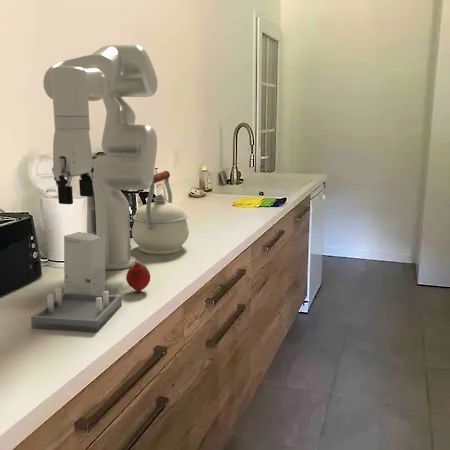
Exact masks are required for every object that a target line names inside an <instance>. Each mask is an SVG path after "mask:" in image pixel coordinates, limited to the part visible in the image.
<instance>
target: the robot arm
mask: <svg viewBox="0 0 450 450" xmlns="http://www.w3.org/2000/svg"><path fill="white" fill-rule="evenodd" d="M42 83H43V90H44V91H45V94H46V96H48V97H49V98H50V99H51V100H52V105H53V106H52V108H53V120H54V121H53V122H54V133H53V142H52V143H53V144H52V145H53V146H52V165H53V167H51V168H52V169H51V173H52V174H53V179H54V181H55V182H56V183H55V185H56V187H57V197H58V204H59V205H60V204H61V205H72V204H74V199H73V194H74V193H73V186H72V185H71V183H72V180H73V177H79V178H80V179H78V182H79V195H80V197H87V198H88V197H91V198H92V197H93V196H94V207H95V208H94V209H95V210H94V211H95V226H96V227H95V229H96V231H95V232H96V234H95V235H100V236H105V271H106V270H109V271H110V270H111V271H112V270H122V269H123V270H124V269H128V268H131V267H132V266H133V265H135V261H136V260H137V259H136V257H134V256H132V253H131V249H132V245H131V228H130V227H131V225H130V223H131V217H130V204H129V201H128V199H127V197H126V196H125V194H124V193H123V192H122V191H124V190H125V191H126V190H130V191H135V190H136V191H141V190H147V189H150V186H151V184H152V181H153V175H155V174H154V173H155V169H156V168H155V166H156V160H157V159H156V158H157V150H158V138H157V137H158V136H157V132H156V130H155V129H154V128H153V127H152V126H150V125H149V124H136V114H135V112H134V109H133V108H132V107H131V106H130V105H129V103H128V102H126V101H125V100H124V98H148V97H149V98H150V97H152V96H154V95H155V94H156V92H157V90H158V83H159V82H158V76H157V74H156V71H155V68H154V66H153V64H152V60H151V58H150V55H149V54H148V52H147V50H145V49H144V48H143V47H142V46H140V45H139V44H138V45H137V44H135V45H133V44H132V45H131V44H112V45H111V44H109V45H104V46H102V47H100V48H99V49H98V50H96V51H94V52H93V53H91V54H87V55H84V56H83V55H82V56H79V57H75V58H70V59H66V60H62V61H59V62H57V63H54V64H53V65H52V66H50V67H49V68H48V69H47V70H46V72H45V73H44V77H43V80H42ZM101 100H102V102H103V105H104V107H105V111H106V117H105V122H104V128H103V132H102V139H101V149H102V152H103V153H104V154H105V155H100V156H98V157H95V158H94V157H93V155H92V154H93V153H92V146H91V145H92V144H91V139H90V131H91V129H90V128H91V125H90V111H89V110H90V109H89V108H90V107H89V102H95V101H96V102H97V101H101ZM121 190H122V191H121Z"/></svg>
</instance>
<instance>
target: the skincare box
mask: <svg viewBox="0 0 450 450" xmlns="http://www.w3.org/2000/svg"><path fill="white" fill-rule="evenodd" d="M63 255H64V256H63V257H64V258H63V262H64V263H63V266H64V267H63V272H64V273H63V274H64V275H63V276H64V279H63V281H64V282H63V283H64V284H63V285H64V287H63V288H64V290H63V293H80V294H98V295H103V291H106V269H105V236H100V235H97V234H94V233H88V232H87V233H86V232H82V231H81V232H80V231H78V232H73V233H70V234H66V235H63Z"/></svg>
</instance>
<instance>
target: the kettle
mask: <svg viewBox="0 0 450 450" xmlns="http://www.w3.org/2000/svg"><path fill="white" fill-rule="evenodd" d="M170 176H171V174H170V171H168V170H163V171H162V172H158V173H155V174H154V175H153V181H152V184H151V186H150V187H149V191H148V195H147V200H146V204H143V205H142V206H140V207H139V208H138V209H137V210H136V212H135V214H134V215H132V219H133V225H132V230H131V236H132V239H133V241H134V242H135V244H137V246H138V250H139V251H140V252H142V253H144V254H148V255H169V254H175V253H177V252H179V251H182V249H183V245H184V243H186V241H187V239H188V238H189V231H190V230H189V225H188V223H187V219H188V218H189V217H188V214H186V213H185V211H184V210H183V208H182V207H181V206H180V205H177V204H175V203H173V193H172V190H171V185H170V179H169V178H170ZM162 181H164V185H165V188H166V192H167V199H166V197H165V196H164V195H162V194H158V195H156V196H155V197H154V199H153V196H154V192H155V184H156V183H160V182H162ZM152 201H154V202H152ZM166 201H167V202H166Z"/></svg>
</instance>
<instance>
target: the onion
mask: <svg viewBox="0 0 450 450" xmlns="http://www.w3.org/2000/svg"><path fill="white" fill-rule="evenodd" d="M125 279H126V283H127V284H128V286H129V287H131V289H133V290H134V291H135V292H137V293H140V292H141V291H143V290H144V289H146V288H147V287H148V286H149V283H150V281H151V273H150V270H149V269H148V268H147V267H146V266H145V265H144V264H142V263H141V262H140V261H139V260H137V259H136V261H135V265H133V266H131V267H129V269H128V271H127V273H126V277H125Z"/></svg>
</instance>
